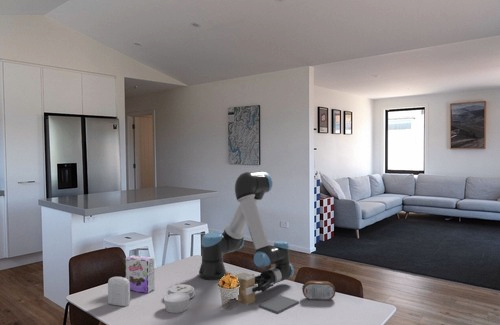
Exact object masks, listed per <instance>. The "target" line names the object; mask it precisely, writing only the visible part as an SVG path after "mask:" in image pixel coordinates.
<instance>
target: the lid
mask: <svg viewBox="0 0 500 325" xmlns="http://www.w3.org/2000/svg"><path fill="white" fill-rule="evenodd" d="M166 292H167V295H169V294H173V293H186V294H188V295H189V296H190V299H192V298H194V297H195V288H194V287H193V285H189V284H182V283H181V284H176V285H175V284H174V285H173V286H170V287H169V288H168V289H167V291H166Z"/></svg>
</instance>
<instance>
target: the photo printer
mask: <svg viewBox="0 0 500 325" xmlns="http://www.w3.org/2000/svg"><path fill="white" fill-rule="evenodd" d="M107 303H108V305H114V306H119V307H120V306H121V307H128V306H129V305H130V304H131V291H130V281H129V280H128V279H126V277H122V276H112V277H110V278H109V279H108V282H107Z"/></svg>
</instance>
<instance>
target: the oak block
mask: <svg viewBox="0 0 500 325" xmlns="http://www.w3.org/2000/svg"><path fill="white" fill-rule="evenodd" d="M235 276H238V281H239V283H240V287H239V295H238V301H237V302H239V303H242V304H244V305H247V306H248V305H251V304H253V303H255V302H256V292H254V293H251V294H249V295H246V288H249V287H252V286H254V285H256V284H255V276H256V275H255V274H254V275H252V274H251V273H248V272H244V271H241V272H239V273H236V274H234V277H235Z"/></svg>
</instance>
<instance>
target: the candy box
mask: <svg viewBox="0 0 500 325" xmlns="http://www.w3.org/2000/svg"><path fill="white" fill-rule="evenodd" d="M124 261H125V262H124V263H125V278H126V279H128V280H129V281H130V292H137V293H142V294H150V293H152V292H153V291H155V290H156V288H155V257H148V256H140V255H129V256H127V257H125V260H124Z"/></svg>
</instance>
